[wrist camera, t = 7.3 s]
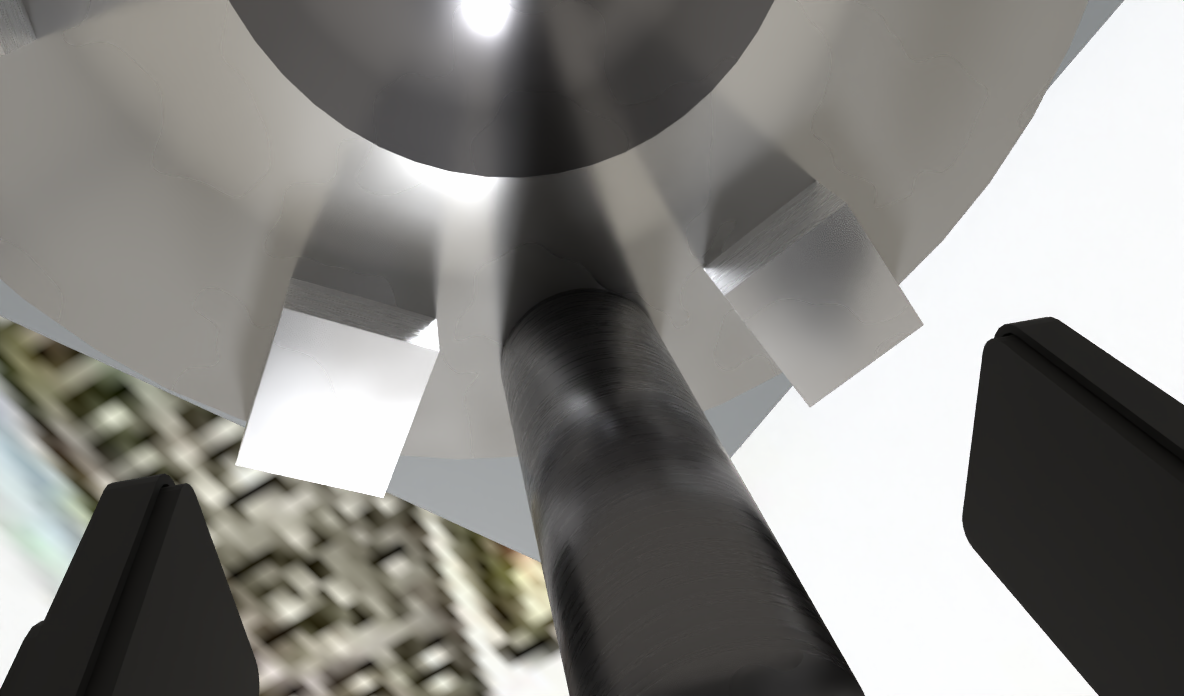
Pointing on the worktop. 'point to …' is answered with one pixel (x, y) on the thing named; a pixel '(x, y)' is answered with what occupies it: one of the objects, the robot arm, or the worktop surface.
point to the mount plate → (495, 485)
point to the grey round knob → (520, 253)
